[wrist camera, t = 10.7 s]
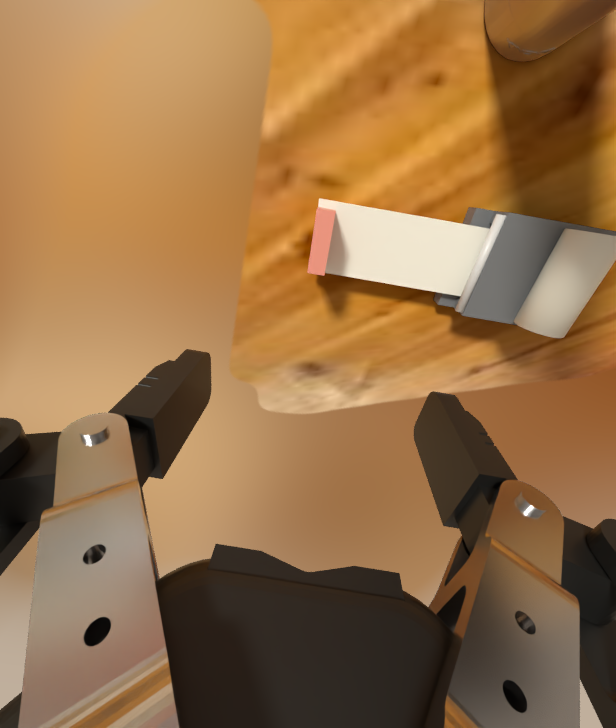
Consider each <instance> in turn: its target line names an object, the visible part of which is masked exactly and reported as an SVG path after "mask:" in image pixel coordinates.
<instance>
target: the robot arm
mask: <svg viewBox="0 0 616 728" xmlns="http://www.w3.org/2000/svg"><path fill="white" fill-rule="evenodd" d="M614 10H616V0H485V14H484V17H485V24H486V31H487V33H488V36H489V39H490V41H491V43H492V45H493V46H494V48H495V49H496V50H497V52H498V53H500V54H501V55H502V56H504V57H505V58H507V59H510V60H513V61H520V62H527V61H531V60H535V59H538V58H540V57H542V56H544V55H547V54H549V53H550V52H552V51H553V50H555V49H556V48H558V47H559V46H561V45H562V44H564V43H565V42H567V41H568V40H570V39H571V38H573V37H574V36H576V35H577V34H579V33H581V32H582V31H584V30H585V29H587V28H588V27H590V26H591V25H593V24H594V23H596V22H597V21H599V20H601V19H602V18H604V17H605V16H607V15H608V14H610V13H611V12H613V11H614ZM210 395H211V358H210V354H209V353H207V352H201V351H195V350H189V349H187V350H185V351H184V352H183V353H182V354H181V355H180V356H179V357H178V359H176V360H175V361H170V360H169V361H167V362H165V363H162V364H160V365H158V366H156V367H155V368H154V369H153V370H152V371H151V372H149V373H148V374H147V375H146V378H143V379H142V380H141V381H140V382H139V383H138V385H136V386H135V387H134V388H133V389H132V390H131V391H130V392H129V393H128V394H127V395H126V396H125V397H123V398H122V399H121V400H120V401H119V402H118V403H117V404H116V405H115V406H114V407H113V408H112V409H111V410H110V411H109V412H108V413H98V414H93V415H89V416H86V417H83V418H81V419H79V420H76V421H75V422H73V423H71V424H70V425H69V426H67V427H66V428H65V429H64V430H63V431H62V432H52V433H38V434H25V432H24V430H23V429H22V426H21V424H20V423H19V422H18V421H16V420H14V419H9V418H0V575H1V574H2V573H3V572H4V570H5V569H6V568H7V567H8V565H9V564H10V563H11V562H12V561H13V559H14V558H15V557H16V556H17V554H18V553H19V552H20V551H21V550H22V548H23V547H24V546H25V545H26V543H27V542H28V541H29V540H30V539H31V537H32V536H33V535H34V534H35V532H36V531H37V530H38V529H39V538H38V546H37V556H36V565H35V575H34V584H33V594H32V603H31V612H30V622H29V632H28V641H27V650H26V660H25V670H24V678H23V688H22V692H21V693H20V694H19V695H18V696H16V697H15V698H14V699H13V700H12V701H10V702H9V703H8V704H7V705H6V706H4V707H3V708H2V709H1V710H0V728H580V684H579V683H580V680H581V682H582V684H583V686H584V688H585V690H586V692H587V695H588V697H589V699H590V701H591V703H592V705H593V707H594V709H595V711H596V713H597V715H598V718H599V720H600V722H601V724H602V726H603V728H616V520H615V519H605V520H603V521H602V522H601V523H600V524H598V525H597V526H596V527H595V528H594V529H592V528H590V527H588V526H585V525H583V524H580V523H578V522H576V521H573V520H571V519H568V518H566V517H564V516H562V514H561V512H560V510H559V509H558V507H557V506H556V505H555V504H554V503H553V502H552V501H551V500H550V499H549V498H548V497H547V496H546V495H545V494H543V493H542V492H541V491H539V490H538V489H536V488H535V487H533V486H531V485H529V484H527V483H524V482H521V481H518V479H517V478H516V476H515V475H514V473H513V472H512V470H511V469H510V467H509V466H508V464H507V463H506V461H505V460H504V458H503V457H502V455H501V453H500V452H499V450H498V449H497V447H496V446H494V443H493V442H492V440H491V438H490V437H489V436H487V432H486V431H485V429H484V428H483V426H482V425H481V423H480V422H479V421H478V420H477V419H476V418H475V417H473V415H471V414H470V413H469V412H468V411H465V410H464V408H463V407H462V405H461V403H460V402H459V400H458V399H457V397H456V396H455V395H451V394H446V393H440V392H431V393H430V394H429V395H428V397H427V400H426V401H425V404H424V406H423V408H422V411H421V413H420V415H419V417H418V419H417V421H416V424H415V427H414V440H415V443H416V446H417V449H418V452H419V455H420V458H421V461H422V464H423V467H424V470H425V473H426V476H427V479H428V482H429V485H430V487H431V490H432V494H433V497H434V500H435V502H436V505H437V509H438V511H439V514H440V517H441V520H442V523H443V525H444V526H448V527H454V528H459V529H460V531H461V534H462V536H461V537H460V539H459V540H458V542H457V544H456V546H455V549H454V551H453V554H452V556H451V558H450V561H449V564H448V566H447V568H446V571H445V573H444V576H443V578H442V581H441V583H440V586H439V588H438V590H437V593H436V595H435V597H434V598H433V600H432V602H431V604H430V605H429V607H427V606H426V605H424V604H423V603H422V602H421V601H419V600H418V599H416V598H415V597H413V596H411V595H410V594H408V593H407V592H405V591H403V590H402V585H401V580H400V574H399V573H395V572H389V571H382V570H375V569H369V568H363V567H357V566H352V567H345V568H338V569H331V570H324V571H317V572H304V571H302V570H300V569H298V568H296V567H293V566H291V565H289V564H287V563H285V562H283V561H281V560H279V559H277V558H275V557H273V556H270V555H268V554H266V553H264V552H262V551H257V550H251V549H245V548H238V547H232V546H226V545H219V544H216V545H215V548H214V551H213V554H212V557H211V559H205V560H200V561H197V562H193V563H190V564H187V565H185V566H182V567H180V568H178V569H176V570H174V571H172V572H170V573H168V574H166V575H165V576H163V577H162V578H159V573H158V568H157V563H156V558H155V553H154V548H153V543H152V538H151V532H150V527H149V522H148V516H147V511H146V506H145V500H144V495H143V490H142V487H143V485H144V483H145V482H146V480H147V479H148V477H154V478H160V479H163V478H164V476H165V474H166V473H167V471H168V469H169V467H170V466H171V464H172V463H173V461H174V459H175V458H176V456H177V454H178V453H179V451H180V449H181V448H182V446H183V444H184V443H185V441H186V439H187V438H188V436H189V434H190V432H191V431H192V429H193V428H194V426H195V424H196V423H197V421H198V419H199V418H200V416H201V414H202V413H203V411H204V409H205V408H206V406H207V404H208V402H209V399H210Z"/></svg>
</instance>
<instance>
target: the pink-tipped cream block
mask: <svg viewBox="0 0 616 728" xmlns="http://www.w3.org/2000/svg"><path fill="white" fill-rule="evenodd" d="M489 230H490V229H489V228H483V227H478V226H472V225H466V224H461V223H455V222H449V221H444V220H438V219H433V218H427V217H421V216H416V215H410V214H404V213H399V212H393V211H388V210H382V209H376V208H371V207H365V206H360V205H354V204H348V203H343V202H337V201H331V200H326V199H320V198H319V205H318V208H317V212H316V219H315V225H314V232H313V239H312V246H311V252H310V259H309V266H308V272H307V273H311V274H317V275H323V276H324V275H325V273H329V274H335V275H341V276H347V277H352V278H358V279H364V280H369V281H375V282H381V283H387V284H392V285H398V286H404V287H410V288H415V289H421V290H427V291H433V292H438V293H444V294H450V295H456V296H461V294H462V292H463V290H464V287H465V285H466V283H467V280H468V278H469V276H470V274H471V271H472V269H473V267H474V264H475V262H476V260H477V257H478V255H479V253H480V251H481V248H482V246H483V244H484V241H485V239H486V237H487V234H488V232H489Z"/></svg>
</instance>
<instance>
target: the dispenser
mask: <svg viewBox="0 0 616 728" xmlns="http://www.w3.org/2000/svg"><path fill="white" fill-rule="evenodd" d="M463 224H466V225H472V226H478V227H483V228H489V229H490V230H489V232H488V234H487V237H486V239H485V241H484V244H483V246H482V248H481V251H480V253H479V255H478V257H477V260H476V262H475V264H474V267H473V269H472V271H471V274H470V276H469V278H468V280H467V283H466V285H465V287H464V290H463V292H462V294H461V296H456V295H450V294H444V293H438V292H436V294H435V296H434V299H433V300H434V301H435V302H436V303H437V304H438V305H443V306H449V307H453V308H455V311H457V312H459V313H460V314H461V315H462V316H467V317H473V318H479V319H484V320H490V321H496V322H502V323H507V324H513V325H518V326H520V327H522V328H524V329H526V330H529V331H531V332H534V333H537V334H540V335H544V336H548V337H553V338H564V337H565V335H566V334H567V332H568V331H569V329H570V328H571V326H572V325H573V323H574V322H575V320H576V319H577V317H578V316H579V314H580V313H581V311H582V310H583V308H584V307H585V305H586V304H587V302H588V301H589V299H590V298H591V296H592V295H593V293H594V292H595V290H596V289H597V287H598V286H599V284H600V283H601V282H602V280H603V279H604V277H605V276H606V274H607V273H608V271H609V270H610V268H611V267H612V265H613V264H614V262H615V261H616V231H610V230H604V229H599V228H593V227H588V226H582V225H576V224H571V223H565V222H560V221H554V220H549V219H543V218H537V217H532V216H526V215H521V214H515V213H509V212H498V211H491V210H485V209H480V208H471V207H469V208H468V211H467V214H466V216H465V219H464V221H463Z"/></svg>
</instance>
